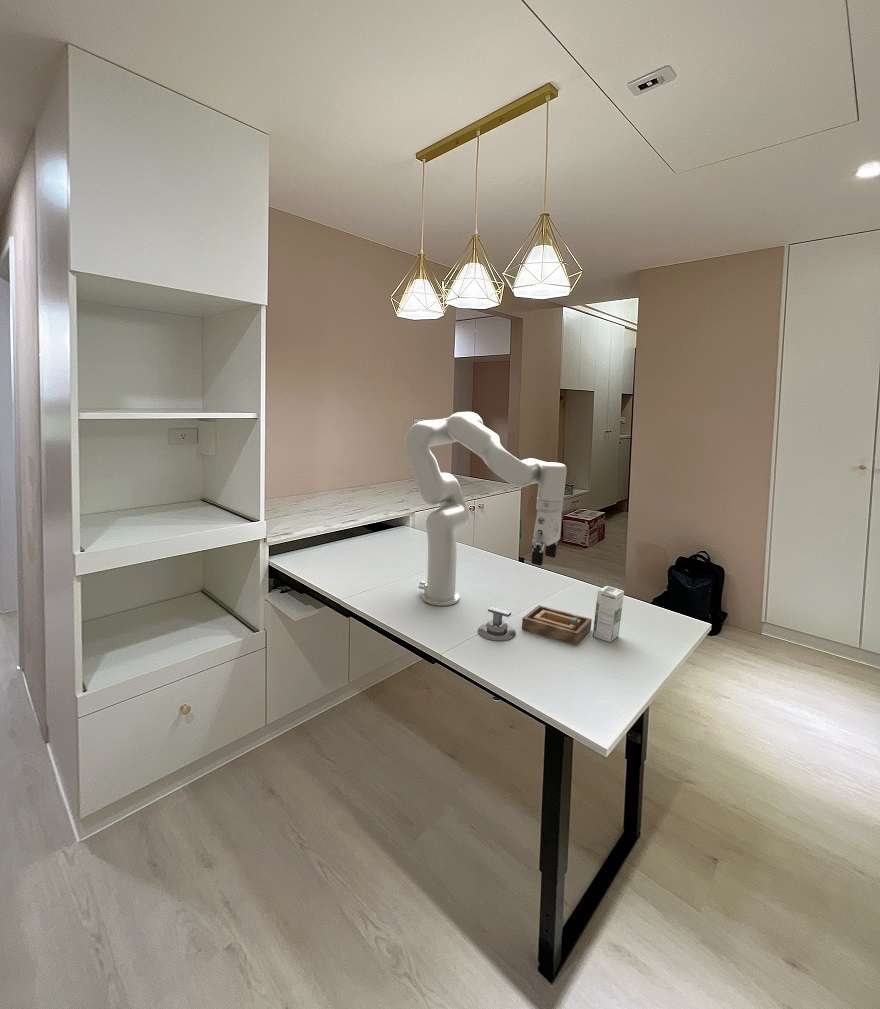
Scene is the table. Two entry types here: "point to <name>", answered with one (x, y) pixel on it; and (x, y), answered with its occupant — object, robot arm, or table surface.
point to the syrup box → (608, 613)
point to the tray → (553, 630)
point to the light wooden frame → (558, 620)
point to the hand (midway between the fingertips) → (543, 560)
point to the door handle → (497, 627)
